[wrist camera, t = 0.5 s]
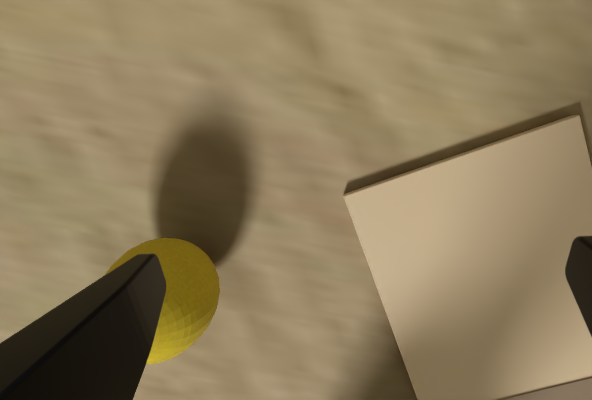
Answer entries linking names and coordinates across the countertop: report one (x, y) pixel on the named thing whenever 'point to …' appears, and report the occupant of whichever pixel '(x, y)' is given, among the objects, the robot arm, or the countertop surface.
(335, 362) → the countertop surface
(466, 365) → the notepad
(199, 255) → the lemon
